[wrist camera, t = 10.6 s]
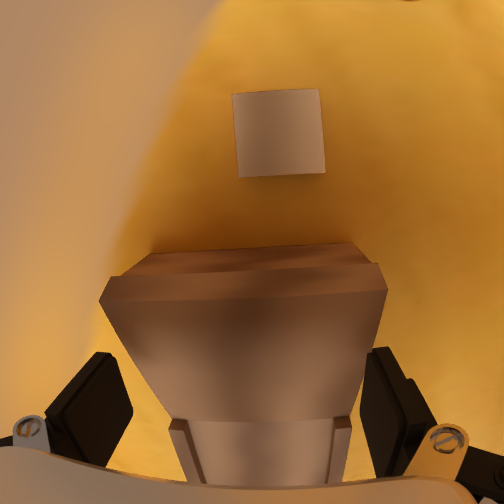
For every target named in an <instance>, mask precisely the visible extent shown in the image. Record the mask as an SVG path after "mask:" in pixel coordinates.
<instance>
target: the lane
mask: <svg viewBox="0 0 504 504" xmlns="http://www.w3.org/2000/svg"><path fill="white" fill-rule="evenodd" d="M387 291H388V288H387V285H386V283H385V280H384V278H383V275H382V273H381V270H380V268H379V265H378V263H371V262H370V261H369V260H368V259H367V258H366V257H365V255H364V254H363V253H362V252H361V251H360V250H359V249H358V248H357V247H356V246H355V245H354V244H353V243H352V242H351V243H333V244H315V245H297V246H280V247H262V248H245V249H228V250H211V251H194V252H177V253H161V254H149V255H148V256H146V257H145V258H144V259H142V260H141V261H140V262H138V263H137V264H136V265H134V266H133V267H132V268H130V269H129V270H128V271H126V272H125V273H124V274H122V275H121V276H111V278H110V279H109V281H108V283H107V285H106V287H105V289H104V291H103V293H102V295H101V297H100V299H99V303H100V305H101V306H102V308H103V310H104V312H105V314H106V316H107V317H108V319H109V321H110V323H111V325H112V326H113V328H114V330H115V332H116V333H117V335H118V337H119V339H120V340H121V342H122V344H123V345H124V347H125V349H126V350H127V352H128V354H129V355H130V357H131V359H132V360H133V362H134V363H135V365H136V367H137V368H138V370H139V371H140V373H141V374H142V376H143V377H144V379H145V380H146V382H147V383H148V385H149V386H150V388H151V389H152V391H153V392H154V394H155V395H156V397H157V398H158V400H159V401H160V403H161V404H162V405H163V407H164V408H165V410H166V411H167V412H168V414H169V415H170V417H171V418H172V421H171V424H170V426H169V429H168V430H169V433H170V436H171V439H172V442H173V445H174V447H175V450H176V453H177V455H178V458H179V461H180V463H181V466H182V469H183V471H184V474H185V476H186V479H187V481H188V482H192V483H202V484H215V485H232V486H297V485H314V484H328V483H339V482H342V478H343V474H344V469H345V464H346V459H347V453H348V448H349V442H350V437H351V431H352V425H351V421H350V417H349V416H350V413H351V411H352V408H353V405H354V402H355V400H356V397H357V394H358V391H359V388H360V385H361V382H362V379H363V376H364V373H365V366H366V357H367V353H370V352H371V351H372V347H373V344H374V341H375V337H376V334H377V330H378V326H379V323H380V319H381V315H382V311H383V307H384V303H385V299H386V295H387Z"/></svg>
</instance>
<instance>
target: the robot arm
mask: <svg viewBox="0 0 504 504" xmlns="http://www.w3.org/2000/svg"><path fill="white" fill-rule="evenodd" d="M44 413H45V415H46V419H45V420H44V419H43V418H42V417H40V416H37V415H30V416H26V417H23V418H21V419H20V420H19V421H17V422H16V423H15V425H14V427H13V435H12V436H9V437H5V438H2V439H0V504H504V456H501V455H497V454H494V453H491V452H487V451H484V450H481V449H478V448H475V447H472V446H468V445H469V437H468V434H467V433H466V432H465V430H463V429H462V428H461V427H459V426H457V425H454V424H440V425H438V424H437V422H436V420H435V418H434V416H433V415H432V413H431V411H430V409H429V407H428V405H427V403H426V401H425V400H424V398H423V396H422V394H421V392H420V390H419V389H418V387H417V385H416V383H415V381H414V380H413V379H411V378H409V379H406V377H405V375H404V373H403V372H402V370H401V368H400V366H399V364H398V362H397V361H396V359H395V357H394V355H393V353H392V352H391V350H390V348H389V347H379V348H373V349H372V352H370V353H367V357H366V366H365V374H364V382H363V390H362V397H361V403H360V418H361V421H362V425H363V429H364V432H365V436H366V440H367V443H368V447H369V451H370V454H371V458H372V462H373V466H374V470H375V474H376V478H374V479H365V480H356V481H348V482H339V483H328V484H314V485H297V486H232V485H215V484H202V483H192V482H183V481H175V480H168V479H161V478H154V477H148V476H143V475H137V474H132V473H127V472H122V471H117V470H113V469H109V468H105V467H106V465H107V463H108V461H109V460H110V458H111V456H112V454H113V452H114V450H115V448H116V446H117V444H118V443H119V441H120V439H121V437H122V435H123V433H124V431H125V429H126V428H127V426H128V424H129V422H130V420H131V418H132V416H133V407H132V405H131V402H130V399H129V396H128V393H127V391H126V388H125V385H124V382H123V379H122V376H121V373H120V370H119V367H118V363H117V360H116V358H115V357H113V356H112V354H111V353H106V352H96V353H95V354H94V355H93V356H92V357H91V358H90V359H89V361H88V362H87V363H86V364H85V365H84V366H83V367H82V369H81V370H80V371H79V372H78V373H77V374H76V375H75V377H74V378H73V379H72V380H71V381H70V382H69V384H68V385H67V386H66V387H65V388H64V389H63V390H62V392H61V393H60V394H59V395H58V396H57V398H56V399H55V400H54V401H53V402H52V403H51V405H50V406H49V407H48V408H47V409H46V411H45V412H44Z"/></svg>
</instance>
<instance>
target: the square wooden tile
mask: <svg viewBox="0 0 504 504" xmlns="http://www.w3.org/2000/svg"><path fill="white" fill-rule="evenodd" d="M232 103H233V116H234V129H235V141H236V154H237V166H238V178H245V177H259V176H274V175H291V174H311V173H326V169H325V154H324V140H323V128H322V117H321V106H320V96H319V89H295V90H275V91H261V92H249V93H238V94H232Z"/></svg>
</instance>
